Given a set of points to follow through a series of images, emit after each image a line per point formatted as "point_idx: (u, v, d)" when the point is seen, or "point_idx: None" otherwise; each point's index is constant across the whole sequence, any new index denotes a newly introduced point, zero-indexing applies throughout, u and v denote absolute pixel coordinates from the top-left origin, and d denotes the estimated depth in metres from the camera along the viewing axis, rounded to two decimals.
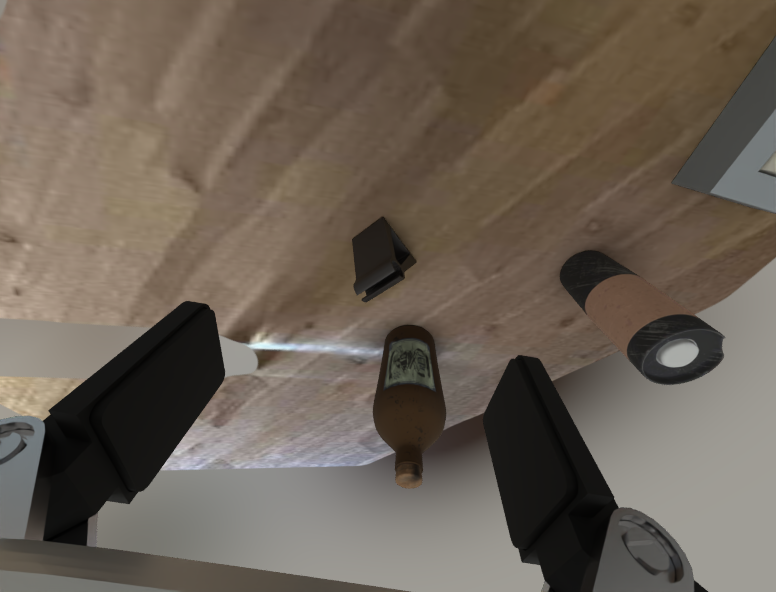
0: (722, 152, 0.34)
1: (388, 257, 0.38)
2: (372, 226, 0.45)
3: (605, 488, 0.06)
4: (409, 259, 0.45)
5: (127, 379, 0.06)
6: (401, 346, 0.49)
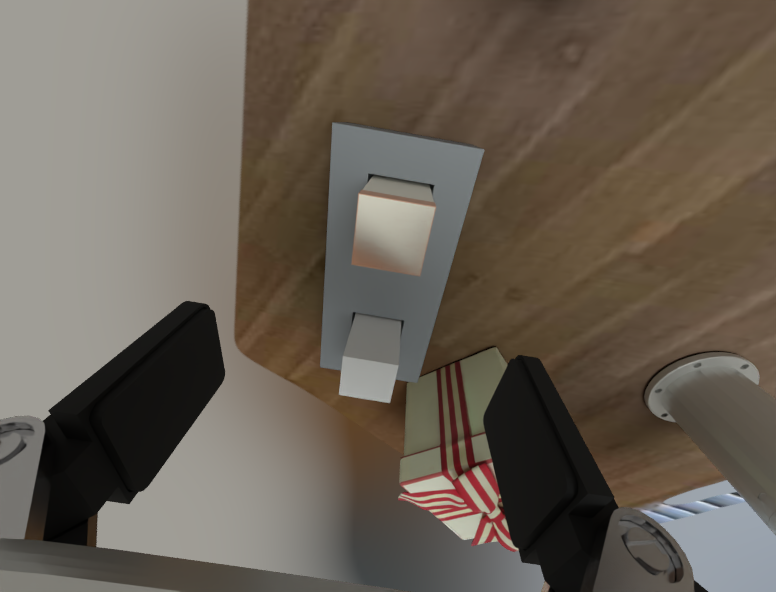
0: None
1: None
2: None
3: (604, 488, 0.06)
4: None
5: (127, 379, 0.06)
6: None
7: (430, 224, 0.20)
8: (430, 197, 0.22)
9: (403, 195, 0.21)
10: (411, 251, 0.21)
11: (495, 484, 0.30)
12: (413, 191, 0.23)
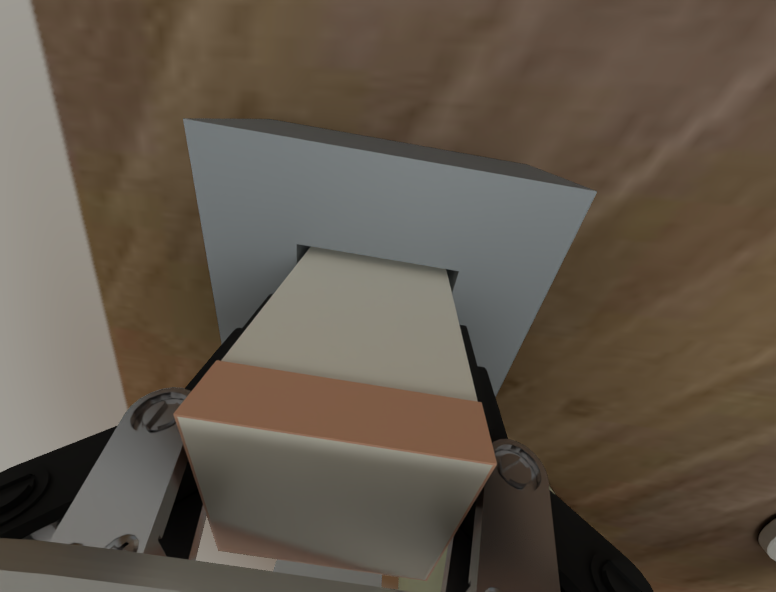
0: None
1: None
2: None
3: (488, 422, 0.07)
4: None
5: None
6: None
7: (468, 500, 0.05)
8: (457, 346, 0.07)
9: (372, 361, 0.06)
10: (398, 543, 0.06)
11: None
12: (406, 312, 0.08)
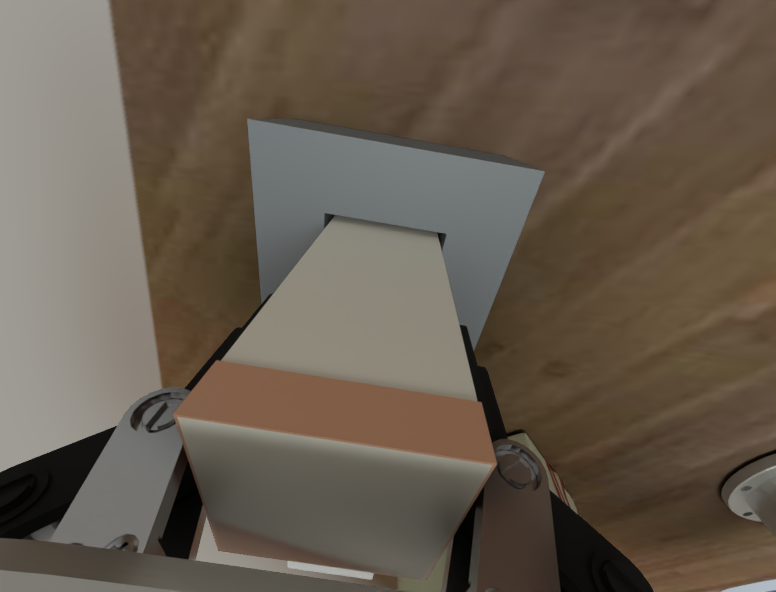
0: None
1: None
2: None
3: (488, 422, 0.07)
4: None
5: None
6: None
7: (468, 500, 0.05)
8: (457, 346, 0.07)
9: (371, 361, 0.06)
10: (397, 543, 0.06)
11: None
12: (406, 312, 0.08)
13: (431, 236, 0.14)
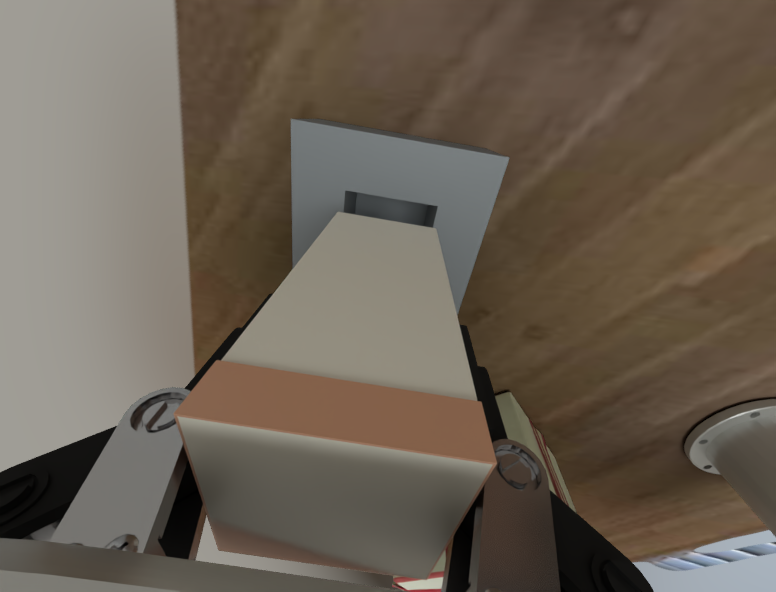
0: None
1: None
2: None
3: (488, 422, 0.07)
4: None
5: None
6: None
7: (468, 500, 0.05)
8: (457, 345, 0.07)
9: (372, 361, 0.06)
10: (398, 543, 0.06)
11: None
12: (406, 312, 0.08)
13: (431, 236, 0.14)
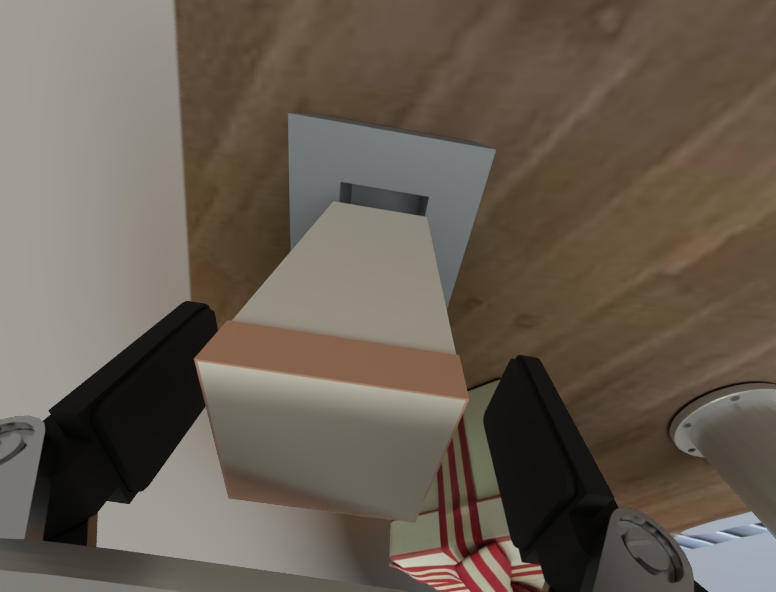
0: None
1: None
2: None
3: (604, 488, 0.06)
4: None
5: (127, 379, 0.06)
6: None
7: (447, 436, 0.06)
8: (441, 313, 0.08)
9: (364, 323, 0.07)
10: (388, 483, 0.07)
11: (507, 565, 0.24)
12: (396, 286, 0.09)
13: (422, 223, 0.15)
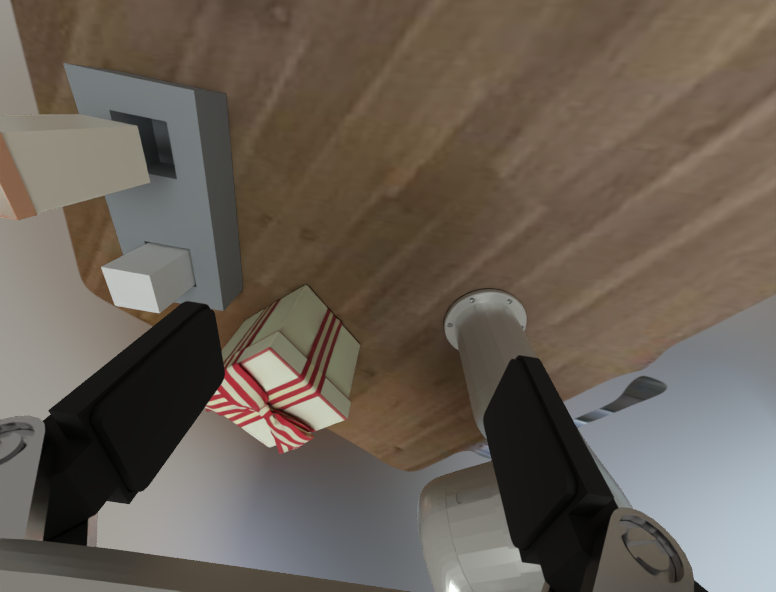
0: (211, 137, 0.33)
1: None
2: None
3: (604, 488, 0.06)
4: None
5: (127, 379, 0.06)
6: None
7: None
8: (27, 130, 0.19)
9: None
10: None
11: (253, 382, 0.36)
12: (24, 126, 0.20)
13: (121, 125, 0.26)
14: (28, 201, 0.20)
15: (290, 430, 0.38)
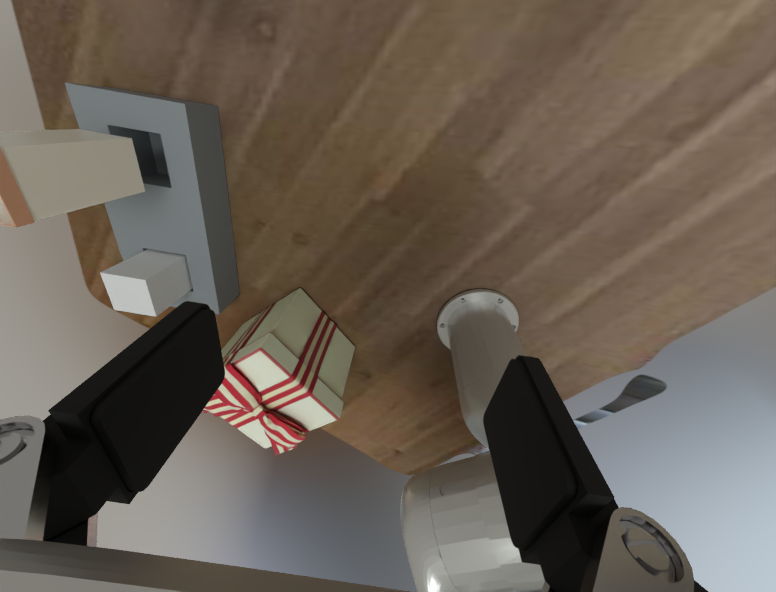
0: (204, 147, 0.34)
1: None
2: None
3: (605, 488, 0.06)
4: None
5: (127, 379, 0.06)
6: None
7: None
8: (25, 144, 0.21)
9: None
10: None
11: (246, 383, 0.37)
12: (23, 140, 0.22)
13: (116, 138, 0.28)
14: (26, 210, 0.22)
15: (283, 430, 0.39)
